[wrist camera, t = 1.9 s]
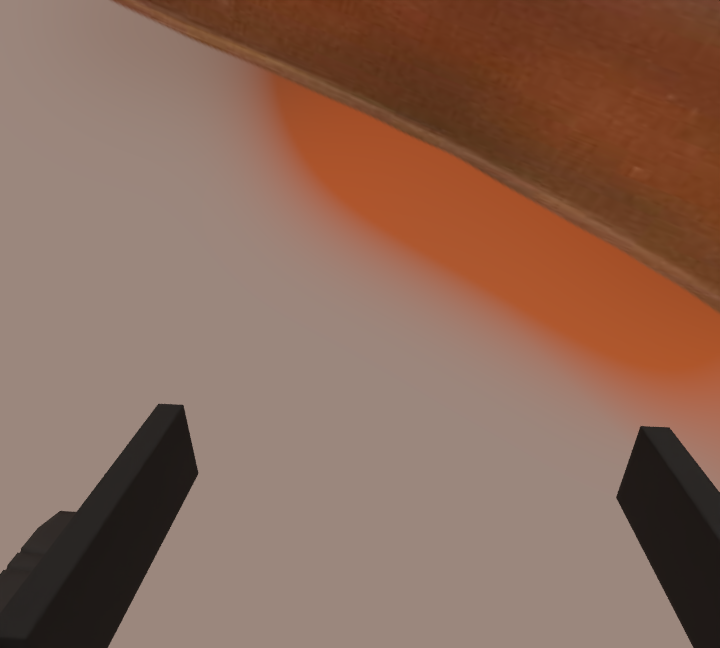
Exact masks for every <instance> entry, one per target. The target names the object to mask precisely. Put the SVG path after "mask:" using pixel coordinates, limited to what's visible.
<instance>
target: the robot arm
mask: <svg viewBox="0 0 720 648" xmlns="http://www.w3.org/2000/svg"><path fill="white" fill-rule="evenodd" d="M197 475H198V470H197V466H196V461H195V456H194V452H193V447H192V443H191V438H190V433H189V429H188V424H187V419H186V415H185V410H184V406H183V405H172V404H158V405H157V407H156V408H155V409H154V411H153V412H152V413H151V415H150V416H149V417H148V418H147V420H146V421H145V422H144V424H143V425H142V426H141V428H140V429H139V430H138V432H137V433H136V434H135V436H134V437H133V438H132V440H131V441H130V442H129V444H128V445H127V446H126V448H125V449H124V450H123V452H122V453H121V454H120V455H119V457H118V458H117V459H116V461H115V462H114V463H113V465H112V466H111V467H110V469H109V470H108V471H107V473H106V474H105V475H104V477H103V478H102V479H101V481H100V482H99V483H98V485H97V486H96V487H95V489H94V490H93V491H92V492H91V494H90V495H89V496H88V498H87V499H86V500H85V502H84V503H83V504H82V506H81V507H80V508H79V510H78V511H77V512H66V511H60V512H58V513H57V514H56V515H54V516H53V517H52V518H50V519H49V520H48V521H47V522H45V523H44V524H43V525H42V526H40V527H39V528H38V529H37V530H36V531H35V532H34V533H33V535H32V536H31V537H30V538H29V540H28V541H27V542H26V543H25V545H24V546H23V547H22V548H21V552H20V553H17V554H16V556H15V557H14V558H13V559H12V561H11V562H10V563H9V564H8V566H7V569H6V570H3V571H2V573H1V574H0V648H108V646H109V644H110V642H111V640H112V638H113V636H114V634H115V633H116V631H117V629H118V627H119V625H120V623H121V621H122V619H123V617H124V615H125V613H126V612H127V610H128V607H129V606H130V604H131V602H132V600H133V598H134V596H135V594H136V592H137V590H138V588H139V586H140V585H141V583H142V581H143V579H144V577H145V575H146V573H147V571H148V569H149V567H150V565H151V563H152V562H153V560H154V558H155V555H156V554H157V552H158V550H159V548H160V546H161V544H162V542H163V540H164V538H165V537H166V535H167V533H168V531H169V529H170V527H171V525H172V523H173V521H174V519H175V517H176V515H177V514H178V512H179V510H180V508H181V506H182V504H183V502H184V500H185V498H186V496H187V494H188V492H189V491H190V489H191V486H192V485H193V483H194V481H195V479H196V477H197ZM616 498H617V500H618V502H619V504H620V506H621V508H622V510H623V512H624V514H625V515H626V517H627V519H628V521H629V523H630V525H631V527H632V529H633V531H634V533H635V535H636V537H637V539H638V541H639V543H640V545H641V547H642V549H643V550H644V552H645V554H646V556H647V558H648V560H649V562H650V564H651V566H652V568H653V570H654V572H655V574H656V575H657V578H658V580H659V581H660V583H661V585H662V587H663V589H664V591H665V593H666V595H667V597H668V599H669V601H670V603H671V605H672V607H673V609H674V611H675V613H676V614H677V617H678V618H679V620H680V622H681V624H682V626H683V628H684V630H685V632H686V634H687V636H688V638H689V640H690V642H691V644H692V646H693V647H694V648H720V492H719V491H718V490H717V489H716V487H715V486H714V485H713V483H712V482H711V481H710V480H709V478H708V477H707V476H706V474H705V473H704V472H703V470H702V469H701V468H700V467H699V465H698V464H697V463H696V461H695V460H694V459H693V458H692V456H691V455H690V454H689V452H688V451H687V450H686V448H685V447H684V446H683V445H682V443H681V442H680V441H679V439H678V438H677V437H676V436H675V434H674V433H673V432H672V430H671V429H670V428H667V427H645V426H641V427H640V430H639V433H638V435H637V438H636V441H635V444H634V447H633V450H632V453H631V456H630V459H629V462H628V465H627V468H626V470H625V474H624V476H623V479H622V482H621V485H620V488H619V491H618V494H617V497H616Z"/></svg>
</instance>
